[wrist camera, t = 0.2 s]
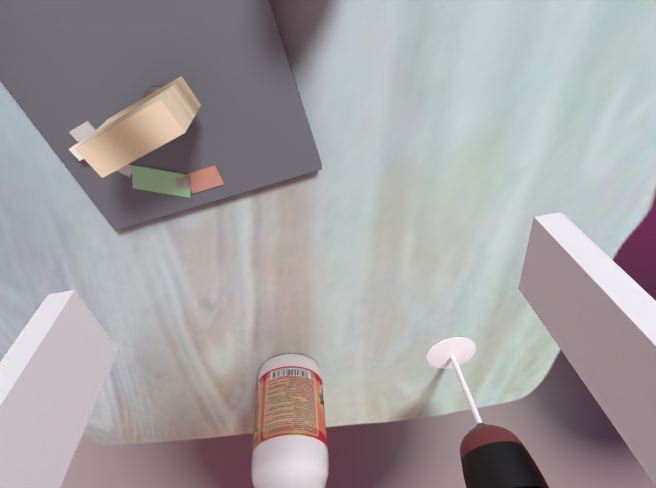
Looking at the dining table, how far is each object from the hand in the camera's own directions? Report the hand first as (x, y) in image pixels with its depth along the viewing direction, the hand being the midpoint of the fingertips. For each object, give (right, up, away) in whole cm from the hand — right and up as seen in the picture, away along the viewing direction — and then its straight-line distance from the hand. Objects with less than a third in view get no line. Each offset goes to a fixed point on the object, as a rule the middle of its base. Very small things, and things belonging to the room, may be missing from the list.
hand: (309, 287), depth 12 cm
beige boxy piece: (-16, +12, +21) cm, 29 cm away
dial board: (-13, +14, +22) cm, 29 cm away
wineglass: (+19, -15, +47) cm, 53 cm away
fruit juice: (-5, -18, +47) cm, 50 cm away
